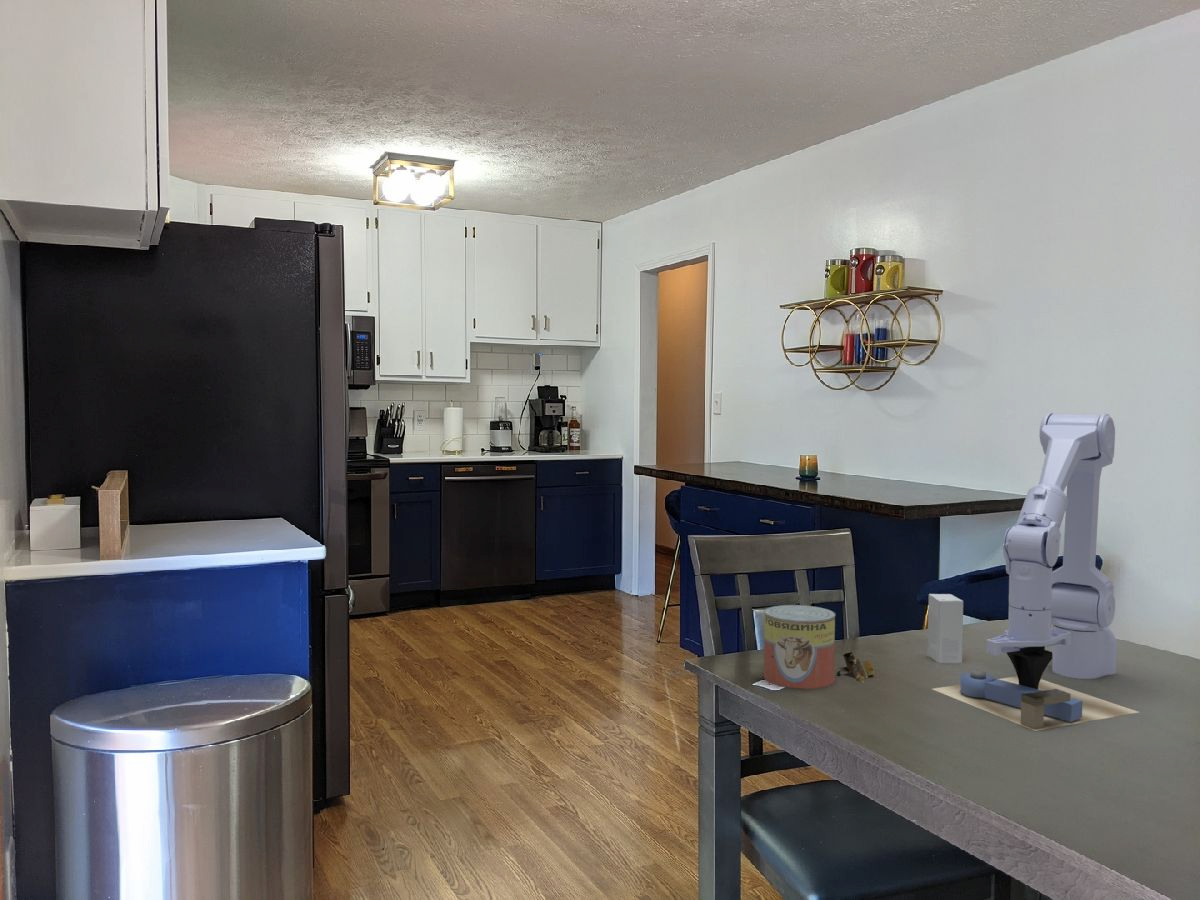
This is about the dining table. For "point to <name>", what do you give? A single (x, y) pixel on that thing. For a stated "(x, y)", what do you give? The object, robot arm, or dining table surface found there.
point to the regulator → (857, 667)
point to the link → (1014, 694)
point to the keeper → (1039, 706)
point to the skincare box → (945, 628)
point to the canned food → (799, 646)
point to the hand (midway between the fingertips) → (1028, 697)
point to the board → (1090, 712)
